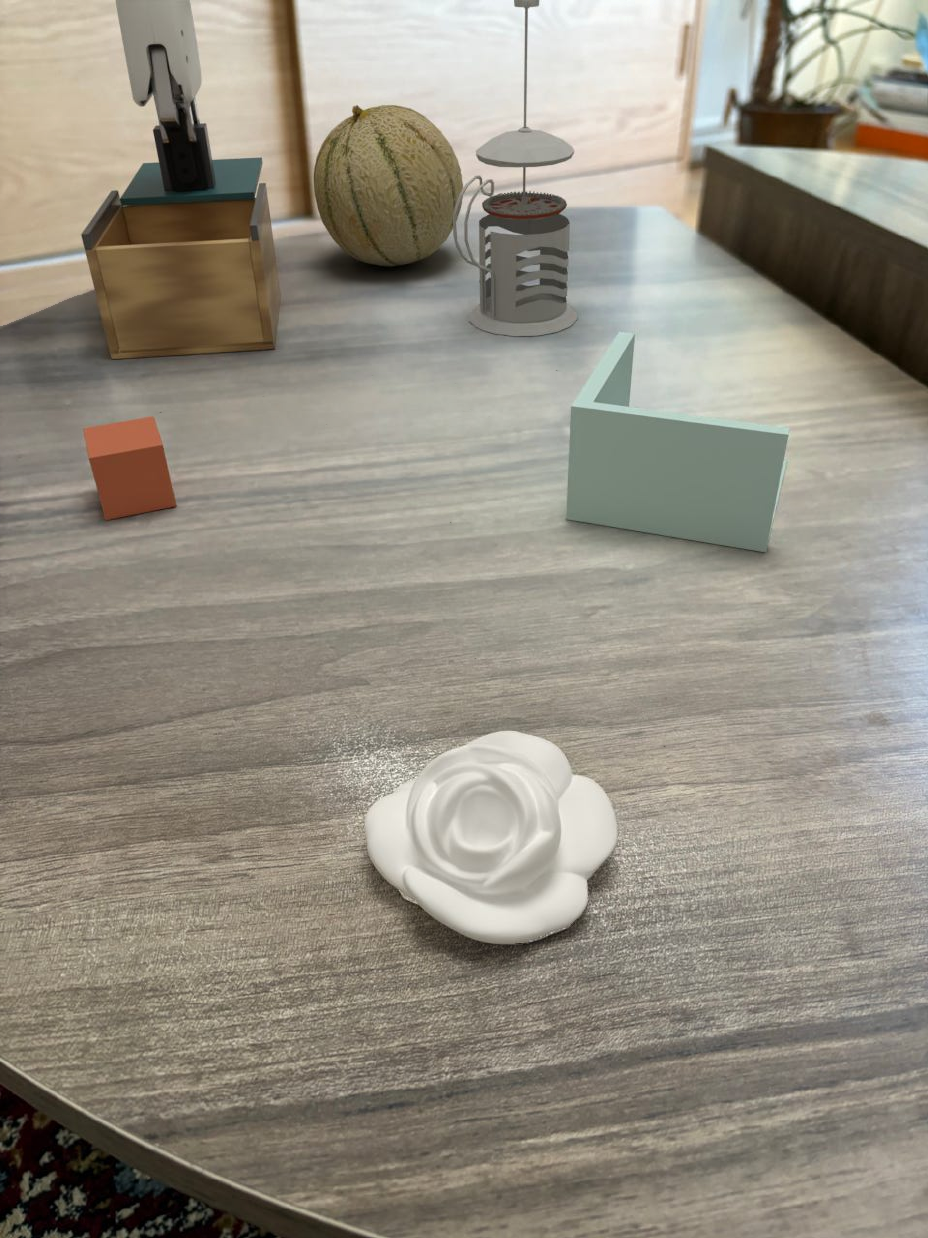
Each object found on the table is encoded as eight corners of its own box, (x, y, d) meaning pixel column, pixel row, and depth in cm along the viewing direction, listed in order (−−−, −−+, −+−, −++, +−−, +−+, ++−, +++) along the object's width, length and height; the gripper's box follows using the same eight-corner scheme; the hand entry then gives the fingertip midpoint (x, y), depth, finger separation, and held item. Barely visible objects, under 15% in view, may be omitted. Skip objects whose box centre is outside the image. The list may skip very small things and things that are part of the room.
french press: (600, 319, 88) (620, -14, 73) (494, 350, 83) (492, -1, 68) (533, 290, 95) (538, -21, 80) (430, 316, 90) (416, -10, 75)
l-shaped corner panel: (765, 552, 58) (788, 434, 53) (566, 519, 61) (571, 405, 57) (787, 459, 67) (807, 351, 62) (611, 434, 70) (619, 331, 66)
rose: (584, 678, 42) (658, 855, 35) (579, 753, 45) (647, 933, 37) (350, 709, 41) (372, 899, 33) (359, 784, 44) (382, 976, 36)
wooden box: (111, 359, 83) (80, 233, 77) (136, 304, 94) (111, 190, 88) (274, 349, 84) (257, 224, 78) (280, 295, 95) (265, 182, 89)
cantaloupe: (493, 258, 103) (493, 97, 94) (394, 296, 94) (382, 123, 85) (392, 233, 111) (382, 82, 102) (291, 266, 102) (271, 104, 93)
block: (105, 520, 62) (88, 457, 60) (99, 488, 66) (83, 427, 63) (176, 506, 64) (162, 444, 61) (167, 475, 67) (153, 415, 64)
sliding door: (121, 205, 87) (105, 135, 84) (144, 169, 98) (131, 106, 95) (254, 198, 88) (244, 129, 85) (262, 163, 99) (254, 100, 96)
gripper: (112, -65, 84) (161, 167, 95) (76, -52, 72) (137, 213, 83) (201, -70, 85) (240, 162, 96) (181, -58, 72) (228, 207, 83)
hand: (192, 184), depth 89 cm, fingers closed on sliding door, 2 cm apart
